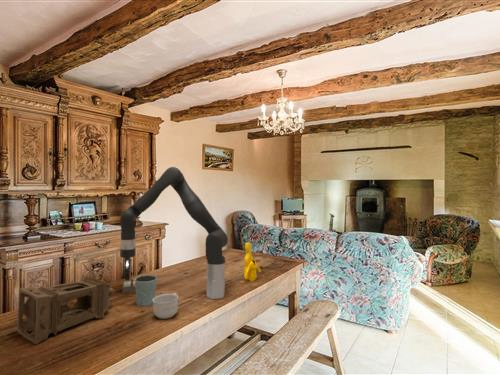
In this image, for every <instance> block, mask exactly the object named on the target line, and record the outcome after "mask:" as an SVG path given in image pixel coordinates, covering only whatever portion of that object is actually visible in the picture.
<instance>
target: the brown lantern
mask: <svg viewBox="0 0 500 375" xmlns="http://www.w3.org/2000/svg"><path fill="white" fill-rule="evenodd" d="M111 286H112V285H111V283H107V280H101V279H97V278H94V277H91V276H89V275H87V274H86V275H84V277H82V278H80V280H78V281H72V282H68V283H62V284H56V285H51V286H44V287H43V286H42V285H40V287H38V288H35V287H22V288H19V289H18V302H17V303H18V304H17V305H18V306H17V321H16V324H17V325H16V332H17V333H18V334H19V335H20V336H22V337H23V338H24V339H26V340H28V341H29V342H31V343H32V344H34V345H38V344H39V343H41V342H42V341H45V340H47V339H48V337H49V335H50V334H53V335H54V336H57V334H58V333H59V332H61V331H62V330H65V329H67V328H70V327H73V326H75V325H77V324H79V323H83V322H84V321H88V320H91V319H93V318H95V319H105V313H106V312H107V310H108V309H110V307H111V305H110V304H111V300H110V298H109V297H112V296H113V295H114V293H115V291H116V290H115V289H114V288H113V287H111ZM25 298H27V299H26V301H24V300H25ZM75 299H76V302H75V303H74V304H73V306H69V305H68V303H69V304H70V303H72V301H73V300H75ZM72 314H74V315H72ZM23 316H25V317H26V319H24V320H23Z"/></svg>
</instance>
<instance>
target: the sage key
mask: <svg viewBox="0 0 500 375" xmlns="http://www.w3.org/2000/svg"><path fill="white" fill-rule="evenodd" d="M124 287H131V281H125V282H124Z"/></svg>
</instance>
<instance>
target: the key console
mask: <svg viewBox="0 0 500 375" xmlns="http://www.w3.org/2000/svg"><path fill="white" fill-rule="evenodd" d="M135 278H136V277H133V279H130V280H128V281H131V287H124V282H125V281H126V280H125V279H124V280H123V281H122V285H121V286H122V287H121V294H129V293H131V294H132V293H136V288H135V286H133V281H135Z"/></svg>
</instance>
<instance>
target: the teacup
mask: <svg viewBox="0 0 500 375" xmlns="http://www.w3.org/2000/svg"><path fill="white" fill-rule="evenodd" d="M152 301H153V304H152V311H153V314H154V315H155V317H157V318H158V319H163V320H165V319H170V318H172V317H174V316H175V314H177V313H178V310H179V309H178V308H179V294H178V293H177V292H173V293H163V294H160V295H155V298H153V300H152Z"/></svg>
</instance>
